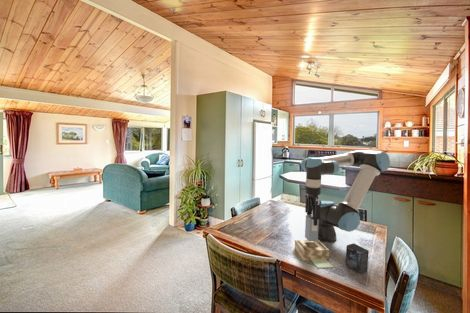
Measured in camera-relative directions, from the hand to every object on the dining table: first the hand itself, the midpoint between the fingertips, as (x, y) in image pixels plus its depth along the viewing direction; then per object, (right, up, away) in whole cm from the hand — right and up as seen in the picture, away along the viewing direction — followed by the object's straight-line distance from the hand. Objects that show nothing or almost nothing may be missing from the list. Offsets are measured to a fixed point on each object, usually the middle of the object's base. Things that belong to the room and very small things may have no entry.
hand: (311, 228), depth 119 cm
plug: (0, -6, 0) cm, 6 cm away
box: (+17, -16, -12) cm, 26 cm away
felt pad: (+2, -15, -8) cm, 17 cm away
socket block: (0, -14, +1) cm, 14 cm away
